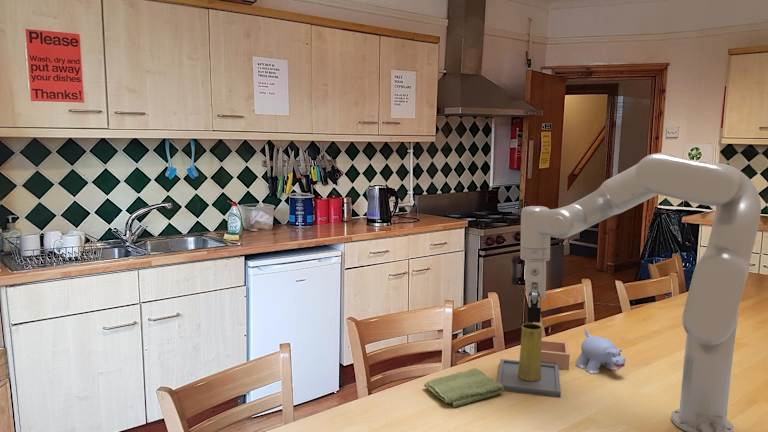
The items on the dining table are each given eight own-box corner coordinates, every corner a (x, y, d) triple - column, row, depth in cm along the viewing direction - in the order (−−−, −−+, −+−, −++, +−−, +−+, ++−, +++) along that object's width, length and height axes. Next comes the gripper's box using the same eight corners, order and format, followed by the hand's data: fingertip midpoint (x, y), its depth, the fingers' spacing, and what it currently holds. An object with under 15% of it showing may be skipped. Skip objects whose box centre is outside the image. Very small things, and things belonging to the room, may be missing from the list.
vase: (541, 382, 156) (544, 330, 153) (517, 380, 157) (520, 329, 155) (540, 373, 161) (542, 323, 159) (517, 371, 163) (519, 321, 161)
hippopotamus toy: (605, 382, 158) (607, 348, 157) (568, 362, 172) (569, 330, 171) (635, 376, 163) (638, 343, 161) (596, 357, 176) (598, 326, 175)
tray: (560, 397, 149) (560, 391, 149) (496, 389, 153) (496, 384, 153) (557, 369, 166) (558, 364, 166) (500, 363, 170) (500, 358, 170)
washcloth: (421, 389, 153) (421, 377, 152) (477, 376, 161) (477, 365, 160) (448, 410, 141) (448, 397, 141) (507, 395, 149) (508, 383, 148)
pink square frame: (568, 369, 166) (569, 354, 166) (532, 365, 169) (533, 350, 168) (567, 356, 176) (567, 342, 175) (532, 353, 178) (533, 339, 178)
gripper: (550, 260, 145) (549, 327, 147) (549, 248, 162) (548, 308, 164) (519, 259, 147) (518, 325, 149) (521, 247, 164) (520, 307, 166)
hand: (534, 316), depth 156 cm, fingers open, 9 cm apart
